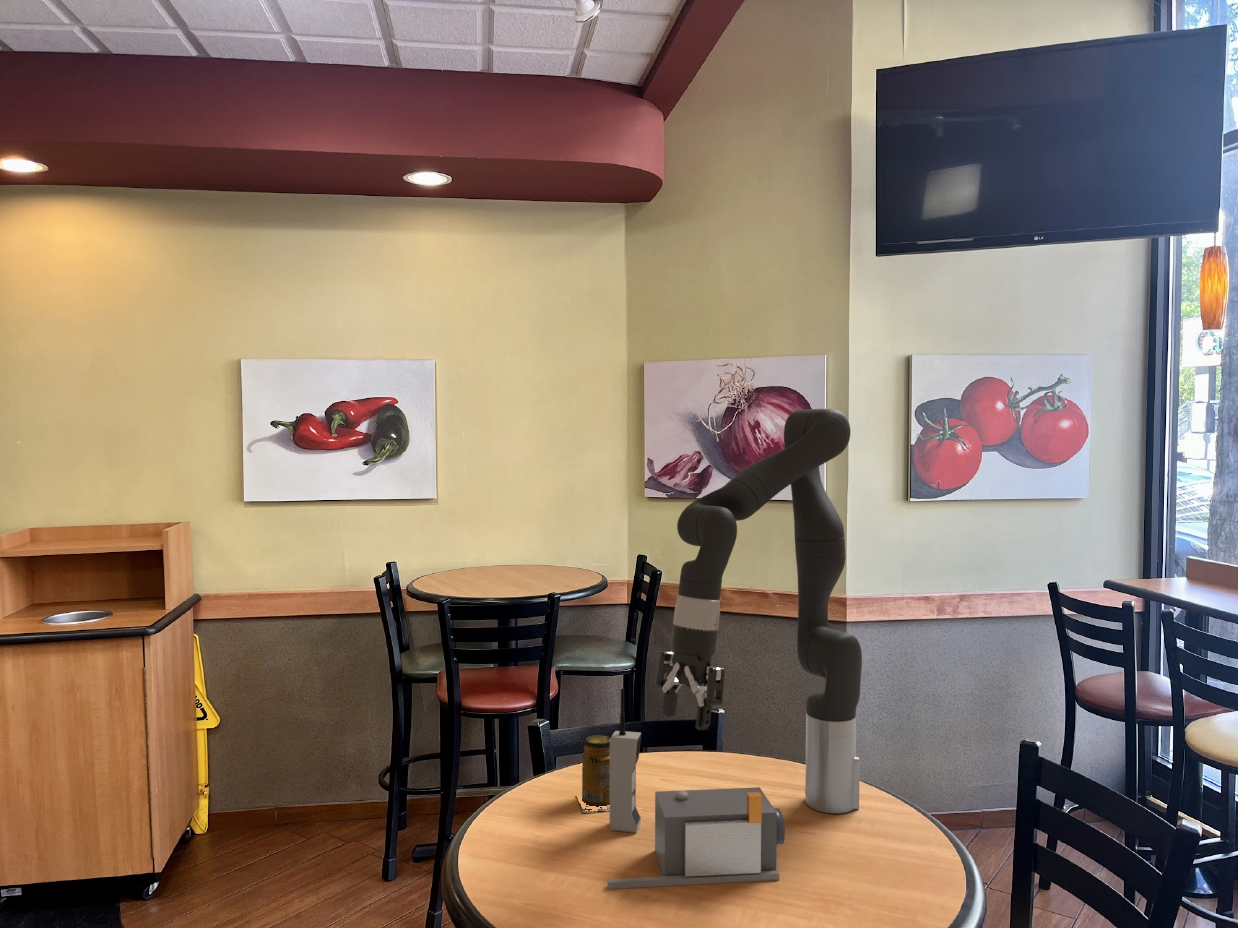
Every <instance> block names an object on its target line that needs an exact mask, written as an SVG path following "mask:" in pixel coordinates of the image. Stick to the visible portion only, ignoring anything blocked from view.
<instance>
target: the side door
mask: <svg viewBox="0 0 1238 928" xmlns="http://www.w3.org/2000/svg"><path fill="white" fill-rule="evenodd" d="M746 819H747V820H734V821H712V822H690V823H684V874H685V877H688V876H707V875H727V874H746V873H761V823H762V796H761V794H760V793H759V792H752V793H747V816H746Z"/></svg>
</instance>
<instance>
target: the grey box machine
mask: <svg viewBox="0 0 1238 928" xmlns="http://www.w3.org/2000/svg"><path fill="white" fill-rule="evenodd" d="M752 792H759V793H760V794H761V796H762V823H761V873H746V874H727V875H707V876H688V877H685V874H684V823H690V822H712V821H734V820H747V819H746V816H747V793H752ZM654 795H655V798H654V833H655V834H654V852H655V854H656V855H655V856H656V858H657V861H658V864H659V866H660V870H661V874H662V876H647V877H646V876H645V877H627V878H611V879H610V878H608V879H607V889H608V890H615V889H633V888H634V889H635V888H636V889H637V888H653V887H655V888H656V887H672V886H673V887H674V886H688V885H689V886H690V885H707V884H708V885H709V884H710V885H711V884H725V883H727V884H729V883H745V882H746V883H748V882H764V881H765V882H766V881H780V872H779V870H777V848H778V847H777V846H781V845H782V846H783V844H784V842H785V835H786V834H785V832H786V831H785V821H784V817H783V813H782V811H781V809H780V808H779V807H774V806H773V805H772V804H771V802H770V800H769V799H768V797H767V796H766V795H765V793H764V792H763V790H762V788H761V787H760V786H759V787H736V788H712V789H711V788H710V789H688V790H687V789H686V790H685V789H684V790H663V791H661V790H659V791H655V793H654Z"/></svg>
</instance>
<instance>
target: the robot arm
mask: <svg viewBox="0 0 1238 928" xmlns="http://www.w3.org/2000/svg"><path fill="white" fill-rule="evenodd" d="M850 439H851V425H850V422H849V420H848V417H846V415H845V414H844V413H843V412H842V411H839V410H836V409H833V408H810V409H797V410H795V411H793V412H792V413H791V412H790V414H789V416H788V417H787V418H786V421H785V423H784V427H783V444H784V448H783V449H781V450H780V451H779V450H778V451H777V452H775V453H773V454H771V455H769V456H767V457H765V458H762V459H759V460H757V461H756V462H754V463H751V464H750V465H749V466H747V467H746V468H744V469H743V470H741V472H739V473H738V474H736V475H735V476H733V478H732V479H730V480H728V482H726V484H724V485H723V486H722V487H720V488H717V489H715V490H713V491H711V492H709V493H707V494H705V495H703V496H702V497H699V498H698V499H696V500H694V501H692V502H691V503H690V504H689V505H687V506H686V507H685V508H684V509H683V510H682V512H681V513H680V515H679V517H678V520H677V523H676V524H677V525H676V529H677V533H678V537H680V539H681V540H682V541H683V542H684V543H686V544H688V545H690V546H694V547H699V550H698V552H697V556H696V558H695V559H693V560H688V561H686V562H684V563H683V564H682V566H681V570H680V575H679V583H678V593H677V599H676V602H675V606H674V607H675V608H674V612H673V613H674V615H673V622H672V623H673V624H672V632H671V642H670V649H671V650H672V651H662V652H661V653H660V659H659V665H658V670H657V677H656V686H657V687H660V688H661V689H662V692H663V695H664V696H663V700H662V701H663V704H662V715H663V716H666V717H674V716H675V715H676V714H677V713H676V712H677V706H678V705H677V703H678V695H679V694H678V693H677V692H678V691H679V690H680V688H681V687H682V686H683V685H685V686H686V687H687V688H689V689H690V688H691V692H692V693H693V694H694V695H695V697H696V700H697V701H696V702H697V703H698V705H697V708H696V709H697V711H696V718H695V729H697V730H698V731H706V730H708V729H709V727H710V725H711V716H712V710H713V707H715V706H721V705H722V704H723V700H724V699H723V698H724V684H725V683H724V682H725V668H724V667H721V666H719V667H717V666H712V663H711V660H712V657H713V656H715V655H716V653H717V652H716V651H717V644H718V643H717V642H718V633H719V624H720V617H721V616H720V615H721V607H720V606H721V604H720V603H721V593H722V583H723V575H724V573H725V570H726V568H727V565H728V563H729V560H730V558H731V554H732V552H733V550H734V547H735V543H736V540H737V537H738V525H737V521H743V520H747V519H748V518H750V517H752V516H753V515H754V514H755V513H756V512H758V511H759V510H761V508H762V507H764V506H765V505H766V504H767V503H768V502H770V501H771V499H773V498H774V497H775V496H777V495H778V494H780V492H782V491H783V490H784V489H786V488H787V487H788V486H790V490H791V500H792V512H793V523H794V525H793V526H794V527H793V528H794V530H793V531H794V532H793V533H794V546H795V550H794V551H795V562H796V571H797V596H798V597H797V599H798V604H797V606H798V608H797V635H796V636H797V639H796V641H797V642H796V648H797V649H796V650H797V657H798V661H799V664H800V666H801V668H802V669H803V670H804V671H805V672H806V673H808V674H810V675H813V676H817V677H820V678H823V679H825V688H824V692H823V691H822V692H817V693H813V694H811V695H810V696H808V697H807V698H806V704H805V789H804V790H805V791H804V793H805V804H806V805H807V806H808V807H809V808H811V809H813V810H815V811H818V812H822V813H825V814H826V813H827V814H845V813H849V812H851V811H854V810H860V764H861V763H860V760H861V759H860V757H858V756H857V755H856V754H857V753H856V752H857V751H856V749H857V748H856V747H857V746H856V745H857V744H856V739H857V738H856V733H857V722H856V721H857V708H858V705H859V702H860V696H861V684H862V683H861V682H862V681H861V680H862V670H863V669H862V668H863V653H862V648H861V644H860V641H859V640H858V638H857V637H856V636H854V635H853V634H851V633H849V632H845V631H841V630H835V629H831V628H830V625H829V617H828V616H829V601H830V597H831V594H832V592H833V590H834V589H835V586H836V584H837V583H838V581H839V579H840V577H841V574H842V572H843V571H844V568H845V564H846V558H847V556H846V539H845V538H846V537H845V528H844V523H843V521H842V518H841V516H840V515H839V513H838V511H837V510H836V507H835V506H834V504H833V502H832V501H831V499H830V497H829V496H828V494H827V491H826V490H825V488H824V486H823V482H822V477H821V471H820V466H822V465H824V464H825V463H828V462H829V461H831V460H833V459H834V458H835V459H836V458H837V457H838V456H839V455H840V454H842V453H843V452H844V451H845V449H846V448H847V446H848V445H849V442H850ZM665 674H666V676H665ZM664 678H665V679H664Z"/></svg>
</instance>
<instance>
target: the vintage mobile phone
mask: <svg viewBox="0 0 1238 928" xmlns="http://www.w3.org/2000/svg"><path fill="white" fill-rule="evenodd" d="M625 718H626V716H625V688H620V717H619V730H615V731H614V732H613V733H612V735H611V737H609V738H610V811H609V830H610V831H612V832H613V831H614V832H624V833H634V834H637V833H638V831H639V829H640V828H639V827H640V826H641V824H642V820H641V819H642V818H641V815H640V813H639V812H638V809H637V805H636V800H637V799H636V795H637V793H636V792H637V791H636V787H637V783H636V782H637V781H636V779H637V778H636V777H637V775H636V773H637V772H636V770H637V763H638V761H639V758H640V748H641V736H642V732H637V731H626V730H625V729H626V724H625V723H626V719H625Z"/></svg>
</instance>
